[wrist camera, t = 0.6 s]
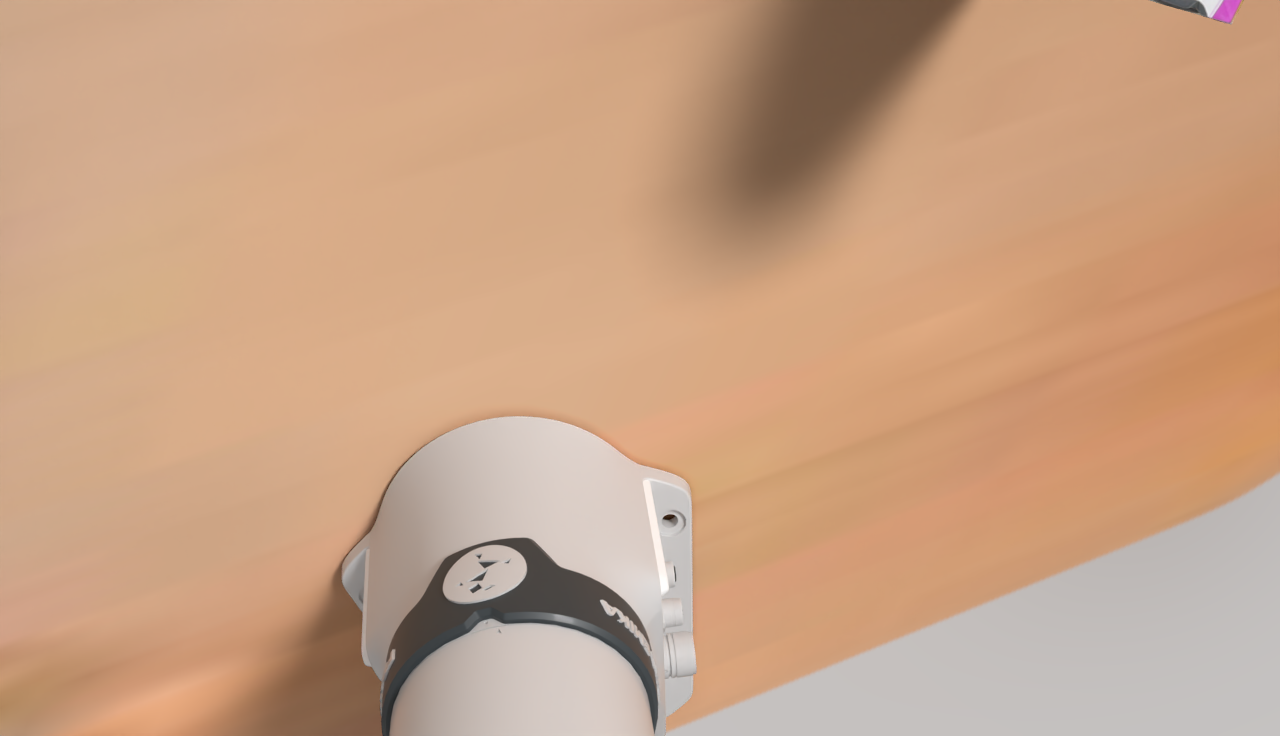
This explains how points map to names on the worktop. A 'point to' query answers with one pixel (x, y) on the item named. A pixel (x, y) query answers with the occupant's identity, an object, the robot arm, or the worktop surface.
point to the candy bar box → (1207, 8)
